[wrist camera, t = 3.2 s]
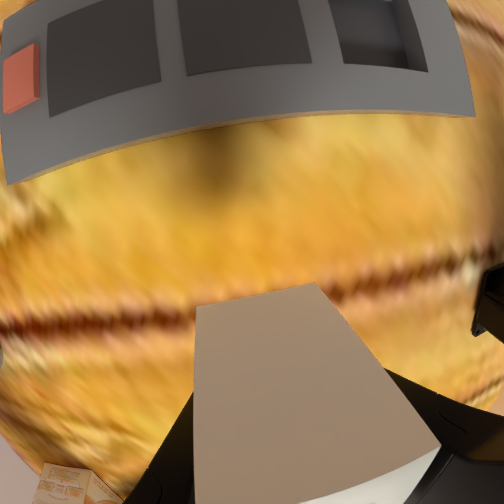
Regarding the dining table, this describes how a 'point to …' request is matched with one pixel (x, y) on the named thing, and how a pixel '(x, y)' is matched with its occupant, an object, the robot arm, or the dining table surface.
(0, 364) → the travel mug
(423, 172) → the dining table surface
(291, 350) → the block
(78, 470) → the coffeecake box
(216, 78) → the power strip
